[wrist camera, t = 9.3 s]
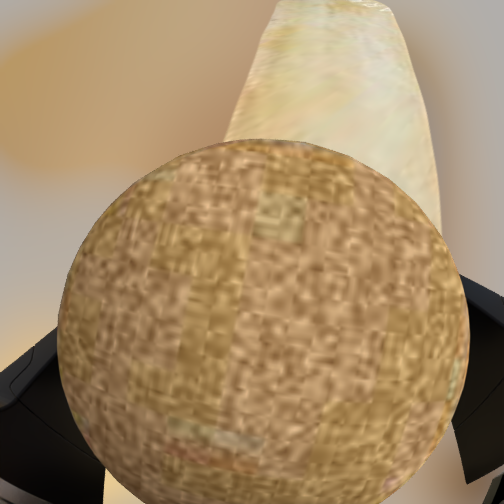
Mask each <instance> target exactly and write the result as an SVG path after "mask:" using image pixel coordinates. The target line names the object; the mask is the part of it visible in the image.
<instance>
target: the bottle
mask: <svg viewBox="0 0 504 504" xmlns="http://www.w3.org/2000/svg"><path fill="white" fill-rule="evenodd" d="M469 343H470V329H469V315H468V307H467V302H466V298H465V294H464V289H463V285H462V281H461V279H460V276H459V273H458V271H457V268H456V266H455V263H454V261H453V258H452V256H451V254H450V251H449V249H448V247H447V245H446V244H445V242H444V240H443V238H442V236H441V235H440V233H439V232H438V231H437V229H436V228H435V226H434V225H433V224H432V222H431V221H430V220H429V219H428V217H427V216H426V215H425V213H424V212H423V211H422V209H421V208H420V207H419V206H418V204H417V203H416V202H415V201H414V200H412V199H411V198H410V197H409V196H408V195H407V194H406V193H405V192H404V191H402V190H401V189H400V188H399V187H398V186H397V185H396V184H394V183H393V182H392V181H391V180H390V179H388V178H387V177H385V176H383V175H382V174H380V173H378V172H377V171H375V170H373V169H371V168H370V167H368V166H366V165H364V164H363V163H361V162H359V161H357V160H355V159H354V158H352V157H350V156H348V155H345V154H342V153H339V152H336V151H333V150H329V149H326V148H323V147H320V146H317V145H313V144H310V143H307V142H299V141H288V140H273V139H245V140H236V141H230V142H223V143H218V144H214V145H211V146H208V147H205V148H201V149H198V150H195V151H192V152H189V153H186V154H183V155H180V156H178V157H176V158H175V159H173V160H171V161H169V162H167V163H166V164H164V165H162V166H161V167H159V168H157V169H156V170H154V171H152V172H151V173H149V174H147V175H146V176H144V177H142V178H141V179H140V180H138V181H136V182H135V183H134V184H132V185H131V186H130V187H129V188H128V189H127V190H126V191H125V192H124V193H122V194H121V195H120V196H119V197H118V198H117V199H116V200H115V201H114V202H113V203H112V204H111V205H110V206H109V207H108V208H107V209H106V211H105V212H104V213H103V214H102V215H101V217H100V218H99V219H98V220H97V222H96V223H95V224H94V226H93V227H92V229H91V230H90V232H89V233H88V235H87V237H86V238H85V240H84V241H83V243H82V245H81V246H80V248H79V250H78V252H77V255H76V257H75V259H74V261H73V263H72V266H71V268H70V270H69V273H68V275H67V279H66V283H65V287H64V292H63V296H62V300H61V304H60V310H59V314H58V329H57V352H58V363H59V371H60V377H61V382H62V386H63V389H64V393H65V396H66V399H67V401H68V404H69V407H70V410H71V413H72V415H73V418H74V421H75V423H76V424H77V426H78V428H79V430H80V432H81V433H82V435H83V437H84V439H85V440H86V442H87V444H88V445H89V447H90V448H91V450H92V451H93V453H94V454H95V456H96V457H97V458H98V459H99V461H100V462H101V463H102V464H103V465H104V466H105V468H106V469H107V470H108V471H109V472H110V473H111V474H112V476H113V477H114V478H115V479H116V480H117V481H118V482H119V483H121V485H123V486H124V487H125V488H126V489H127V490H129V491H130V492H131V493H132V494H133V495H135V496H136V497H137V498H138V499H140V500H141V501H142V502H144V503H146V504H379V503H381V502H382V501H383V500H385V499H386V498H388V497H389V496H390V495H391V494H392V493H394V492H395V491H397V490H398V489H399V488H400V487H402V486H403V485H404V484H405V483H406V482H407V481H408V480H409V479H410V478H411V477H412V476H413V475H414V474H415V473H416V472H417V471H418V470H419V468H420V467H421V466H422V465H423V464H424V463H425V461H426V460H427V459H428V457H429V456H430V455H431V453H432V452H433V450H434V449H435V448H436V446H437V445H438V443H439V442H440V440H441V439H442V437H443V436H444V434H445V431H446V429H447V428H448V425H449V423H450V421H451V419H452V417H453V415H454V412H455V410H456V407H457V404H458V402H459V399H460V396H461V393H462V390H463V387H464V383H465V378H466V373H467V368H468V360H469Z"/></svg>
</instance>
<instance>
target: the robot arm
mask: <svg viewBox="0 0 504 504" xmlns="http://www.w3.org/2000/svg"><path fill="white" fill-rule="evenodd" d="M459 276H460V279H461V281H462V285H463V289H464V294H465V298H466V302H467V307H468V315H469V329H470V343H469V360H468V368H467V373H466V378H465V383H464V387H463V390H462V393H461V396H460V399H459V402H458V404H457V407H456V410H455V412H454V415H453V417H452V419H451V422H452V425H453V429H454V430H455V431H454V433H455V437H456V440H457V444H458V448H459V452H460V457H461V461H462V466H463V470H464V475H465V480H466V483H467V484H469V483H471V482H473V481H475V480H477V479H479V478H481V477H483V476H485V475H486V474H488V473H490V472H492V471H493V470H495V469H497V468H498V467H500V466H502V465H503V464H504V297H502V296H500V295H499V294H497V293H495V292H493V291H491V290H489V289H487V288H485V287H484V286H482V285H480V284H478V283H476V282H474V281H472V280H470V279H468V278H466V277H464V276H462V275H460V274H459ZM57 329H58V326H57V327H56V328H55V329H54V330H52V331H51V332H50V333H49V334H47V335H46V336H45V337H44V338H43V339H41V340H40V341H39V342H38V343H36V344H35V346H33V347H31V348H30V349H29V350H28V351H27V352H26V353H24V355H22V356H21V357H19V358H18V359H17V360H16V361H14V362H13V363H12V364H11V365H9V366H8V367H7V368H6V369H4V370H3V371H2V372H0V504H103V494H104V493H103V492H104V480H105V469H106V468H105V466H104V465H103V464H102V463H101V462H100V461H99V459H98V458H97V457H96V456H95V454H94V453H93V451H92V450H91V448H90V447H89V445H88V444H87V442H86V440H85V439H84V437H83V435H82V433H81V432H80V430H79V428H78V426H77V424H76V423H75V421H74V418H73V415H72V413H71V410H70V407H69V404H68V401H67V399H66V396H65V393H64V389H63V386H62V382H61V377H60V371H59V363H58V352H57ZM483 504H504V472H502V473H501V474H499V475H498V476H497V477H495V478H494V479H493V480H492V483H491V485H490V488H489V490H488V492H487V495H486V497H485V499H484V501H483Z"/></svg>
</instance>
